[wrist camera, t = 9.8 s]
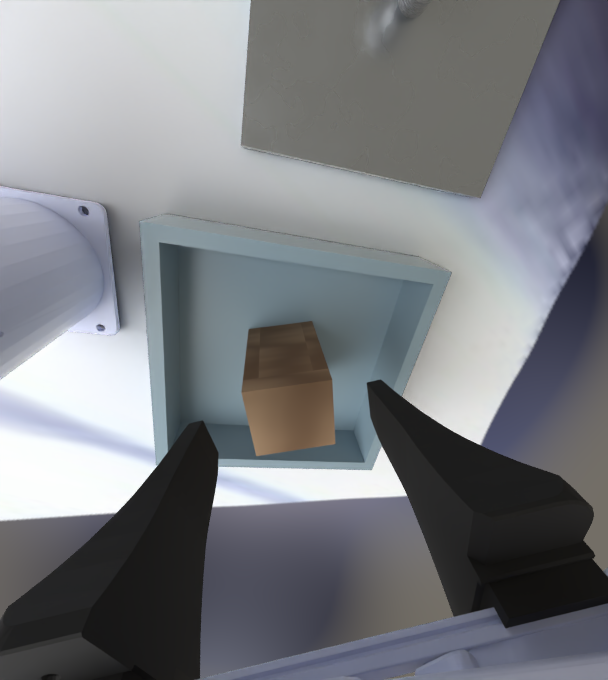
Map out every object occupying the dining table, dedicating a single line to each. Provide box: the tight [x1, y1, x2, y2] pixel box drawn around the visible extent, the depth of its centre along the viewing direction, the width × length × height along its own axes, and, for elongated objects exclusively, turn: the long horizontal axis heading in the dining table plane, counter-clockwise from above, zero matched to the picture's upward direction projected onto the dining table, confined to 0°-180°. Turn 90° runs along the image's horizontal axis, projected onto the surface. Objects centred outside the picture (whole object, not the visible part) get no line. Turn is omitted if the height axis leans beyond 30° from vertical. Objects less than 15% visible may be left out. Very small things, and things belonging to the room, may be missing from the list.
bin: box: [139, 214, 452, 470], centre depth 20 cm, size 16×16×4 cm
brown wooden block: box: [241, 321, 335, 456], centre depth 18 cm, size 4×4×7 cm
